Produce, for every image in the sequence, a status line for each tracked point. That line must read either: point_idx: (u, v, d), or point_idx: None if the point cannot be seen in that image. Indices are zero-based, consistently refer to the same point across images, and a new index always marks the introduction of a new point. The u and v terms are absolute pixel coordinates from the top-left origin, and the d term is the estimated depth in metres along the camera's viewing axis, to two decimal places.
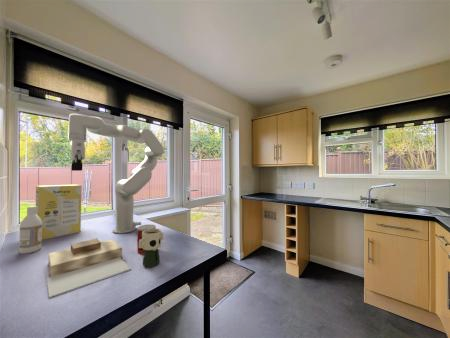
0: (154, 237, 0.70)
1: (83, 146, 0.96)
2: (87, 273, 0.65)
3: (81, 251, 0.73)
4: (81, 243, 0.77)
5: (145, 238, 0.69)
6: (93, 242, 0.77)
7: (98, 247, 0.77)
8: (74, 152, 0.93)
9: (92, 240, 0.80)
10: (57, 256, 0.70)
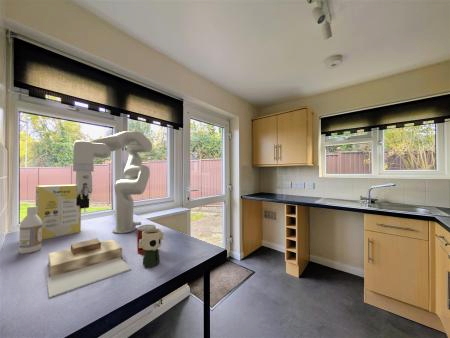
0: (154, 237, 0.70)
1: (90, 178, 0.82)
2: (87, 273, 0.65)
3: (81, 251, 0.73)
4: (81, 243, 0.77)
5: (145, 238, 0.69)
6: (93, 242, 0.77)
7: (98, 247, 0.77)
8: (80, 186, 0.79)
9: (92, 240, 0.80)
10: (57, 256, 0.70)
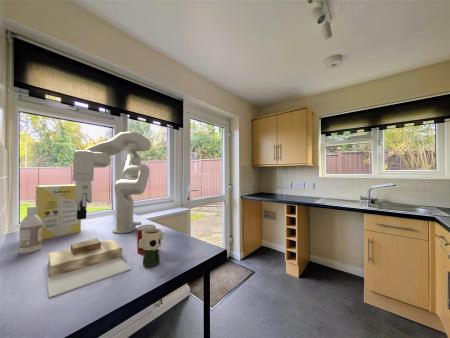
0: (154, 237, 0.70)
1: (90, 188, 0.82)
2: (87, 273, 0.65)
3: (81, 251, 0.73)
4: (81, 243, 0.77)
5: (145, 238, 0.69)
6: (93, 242, 0.77)
7: (98, 247, 0.77)
8: (79, 196, 0.79)
9: (92, 240, 0.80)
10: (57, 256, 0.70)
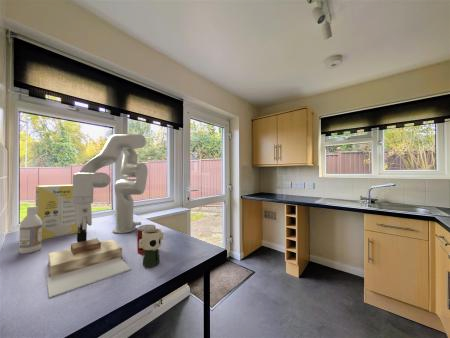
0: (154, 237, 0.70)
1: (90, 211, 0.82)
2: (87, 273, 0.65)
3: (81, 251, 0.73)
4: (81, 243, 0.77)
5: (145, 238, 0.69)
6: (93, 242, 0.77)
7: (98, 247, 0.77)
8: (79, 220, 0.79)
9: (92, 240, 0.80)
10: (57, 256, 0.70)
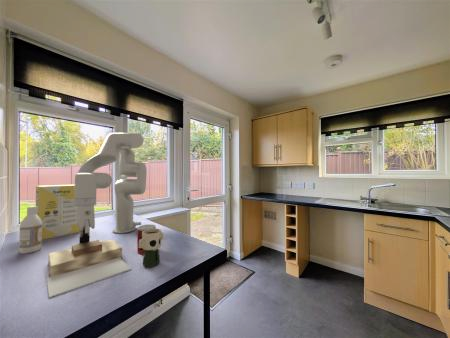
0: (154, 237, 0.70)
1: (92, 213, 0.77)
2: (87, 273, 0.65)
3: (82, 253, 0.71)
4: (82, 245, 0.75)
5: (145, 238, 0.69)
6: (94, 244, 0.76)
7: (99, 249, 0.75)
8: (82, 223, 0.75)
9: (93, 242, 0.78)
10: (57, 256, 0.70)
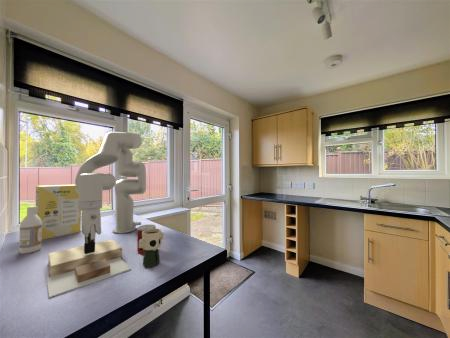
0: (154, 237, 0.70)
1: (99, 218, 0.70)
2: None
3: None
4: None
5: (145, 238, 0.69)
6: None
7: None
8: (87, 229, 0.68)
9: None
10: (57, 256, 0.70)
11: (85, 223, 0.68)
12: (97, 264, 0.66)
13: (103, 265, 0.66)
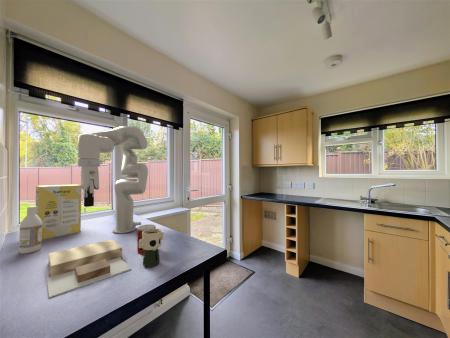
0: (154, 237, 0.70)
1: (97, 174, 0.77)
2: None
3: None
4: None
5: (145, 238, 0.69)
6: None
7: None
8: (86, 183, 0.75)
9: None
10: (57, 256, 0.70)
11: (84, 177, 0.75)
12: (97, 264, 0.66)
13: (103, 265, 0.66)
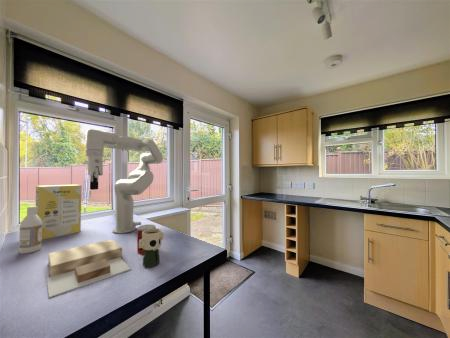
0: (154, 237, 0.70)
1: (101, 162, 0.93)
2: None
3: None
4: None
5: (145, 238, 0.69)
6: None
7: None
8: (92, 169, 0.91)
9: None
10: (57, 256, 0.70)
11: (91, 165, 0.91)
12: (97, 264, 0.66)
13: (103, 265, 0.66)
